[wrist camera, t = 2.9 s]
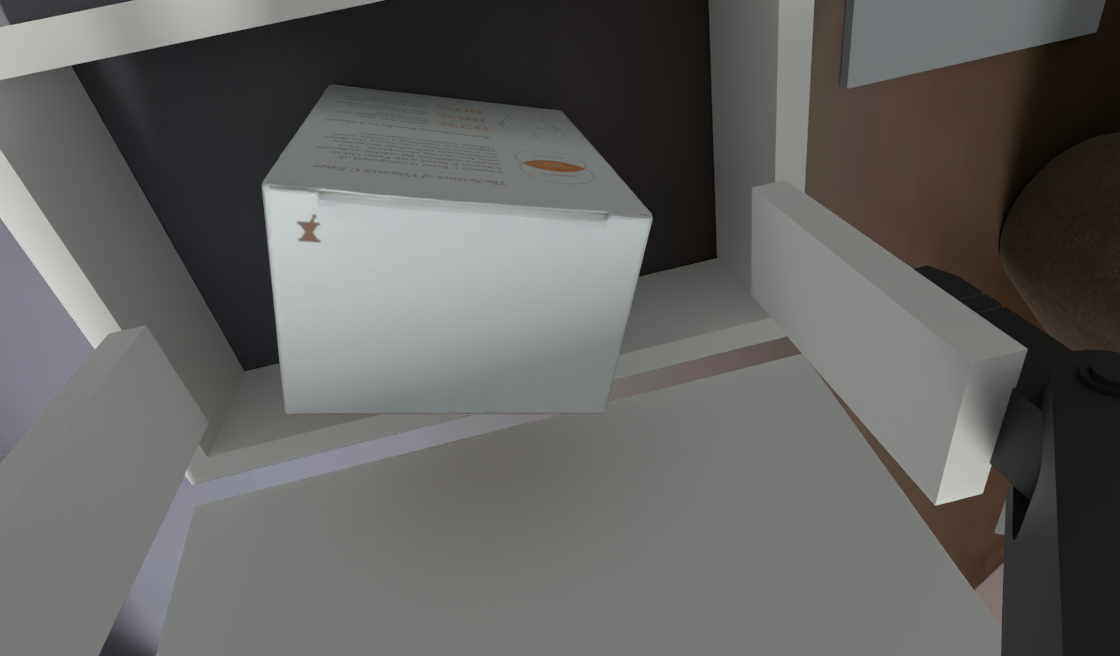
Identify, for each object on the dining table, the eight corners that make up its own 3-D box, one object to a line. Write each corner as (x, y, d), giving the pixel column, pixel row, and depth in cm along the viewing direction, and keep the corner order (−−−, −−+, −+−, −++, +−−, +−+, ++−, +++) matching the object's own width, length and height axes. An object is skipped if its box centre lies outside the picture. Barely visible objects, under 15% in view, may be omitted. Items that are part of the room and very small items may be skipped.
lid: (195, 506, 21) (218, 529, 22) (6, 1218, 11) (69, 1195, 12) (803, 353, 22) (798, 382, 24) (1165, 855, 12) (1124, 866, 13)
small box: (332, 237, 23) (271, 421, 14) (327, 77, 20) (247, 180, 11) (545, 252, 25) (609, 422, 16) (567, 107, 22) (660, 216, 13)
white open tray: (231, 396, 25) (192, 484, 21) (10, 26, 18) (-119, 51, 14) (739, 273, 27) (797, 333, 23) (735, -121, 19) (821, -140, 15)
